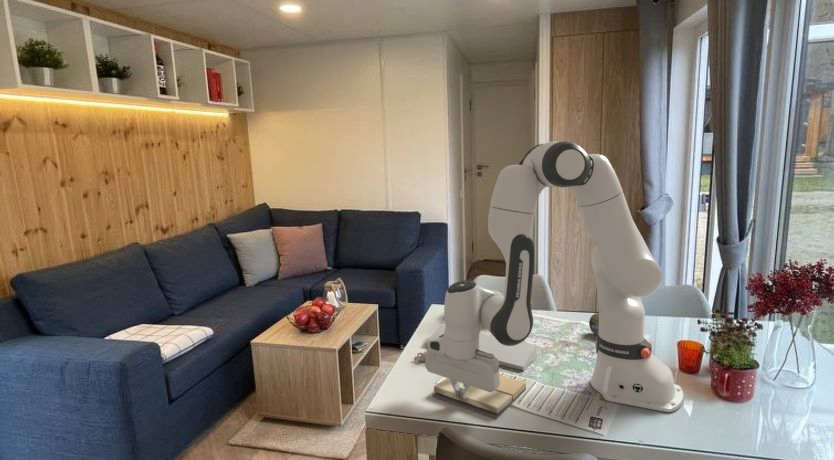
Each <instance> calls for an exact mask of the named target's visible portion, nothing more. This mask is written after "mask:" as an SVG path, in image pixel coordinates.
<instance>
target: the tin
mask: <svg viewBox="0 0 834 460" xmlns="http://www.w3.org/2000/svg"><path fill="white" fill-rule="evenodd" d="M588 323H589V324H588V325H589V328H590V331H591V333H593V335H595V336H596V337H597V334H598V333H599V312H597V313H594V314H592V315H591V316H590V318H589V321H588Z"/></svg>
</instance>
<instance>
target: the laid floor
mask: <svg viewBox="0 0 834 460" xmlns="http://www.w3.org/2000/svg"><path fill="white" fill-rule="evenodd" d="M499 378H500V385H499V387H498V388H497V389H496V390H494V391H497V392H501V393H504V394H507V395H510V396H512V402H510V403H509V404H508V405H507V406H506V407H505V408H504V409H502V410H501V411H500V412H499V413H498V414H497V413H494V412H492V411H489V410H486V409H483V408H480V407H477V406H474V405H471V404H468V403H466V402H463V401H460V400H457V399H454V398H451V397H448V396H445V395H442V394H440V393H437V392H434V393H433V394H432V397H433V398H434V399H435V398H436V399H439V400H441V401H444V402H446V403H449V404H452V405H455V406H458V407H461V408H463V409H465V410H466V409H467V410H470V411H472V412H476V413H478V414H481V415H483V416H486V417H489V418H492V419H495V420H498V418H499V417H500V416H501V415H503V413H504V412H505V411H506V410H508V408H509V407H510V406H512V404H513V403H514V402H515V401H516V400H517V399H518V398H519V397H520V396H521V395H522V394H523V393H524V392H525V391H526V390H527V387H526V386H527V385H526V382H525V381H523V380H519V379H515V378H512V377H508V376H504V375H501V374H499Z"/></svg>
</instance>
